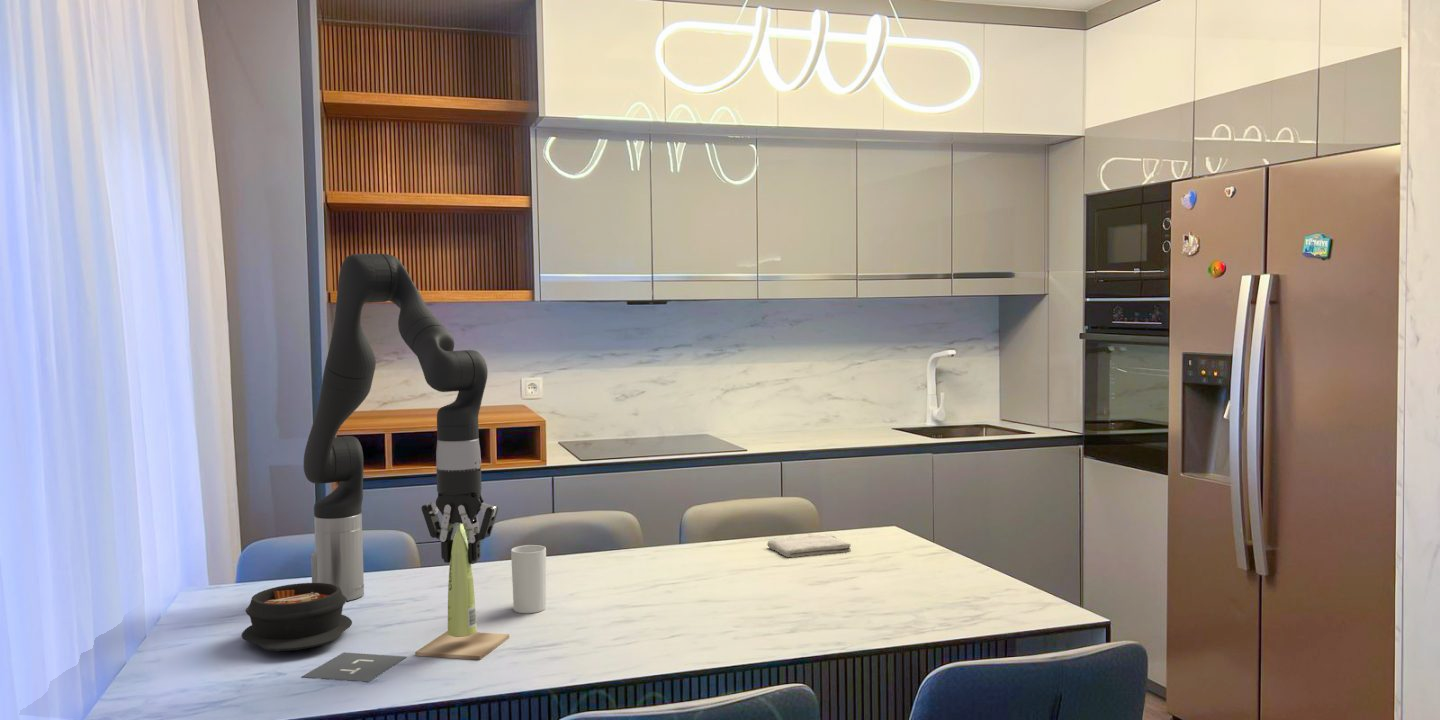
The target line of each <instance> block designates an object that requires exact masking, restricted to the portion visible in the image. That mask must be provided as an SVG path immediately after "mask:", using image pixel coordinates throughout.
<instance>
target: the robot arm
mask: <svg viewBox="0 0 1440 720" xmlns="http://www.w3.org/2000/svg"><path fill="white" fill-rule="evenodd" d="M337 281H338V282H337V293H336V300H335V301H336V303H335V312H334V322H333V327H332V333H331V338H330V342H329V347H328V351H327V356H326V359H325V360H326V361H325V365H324V369H323V374H322V375H323V376H322V382H321V388H320V394H319V397H318V398H319V399H318V404H317V408H316V412H315V416H314V420H313V422H312V426H311V429H310V432H309V435H308V438H307V442H306V445H305V449H304V453H303V473H304V475H305V478H306V479H307V480H308V481H309V482H310V483H312V484H316V485H317V484H321V485H323V484H331V483H338V485H337V487H336V488H335V489H334V490H333V491H332V492H330V493H329V494H327V495H326V496H324V497H322V498H320V499H319V500H317V501H315V503H314V505H313V515H314V519H313V520H314V521H313V522H314V546H315V547H314V548H315V549H314V552H311V555H310V558H311V559H310V561H311V562H310V563H311V564H310V565H311V583H326V584H332V585H336V586H338V587H339V588H340V589H341V591H342V594H343V595H344V596H345V597H346V598H347V601H352V600H357V599H359V598H361V597H362V596H364V594H365V584H364V580H365V579H364V550H363V549H364V547H363V545H364V544H363V517H362V511H363V510H362V504H363V497H364V491H363V490H364V452H363V447H362V445H361V442H360V441H359V439H358V438H357V437H355V436H353V435H352V436H351V435H344V436H336V435H337V433H338V431H339V430H340V428H341V427H342V425H343V424H344V423H345V422H346V420H347V419H348V418H349V417H350V416H351V415H352V414H353V413H354V412H355V411H356V410H357V409H358V408H359V407H360V406H361V404H362V403H363V402H364V401H365V400H366V398H367V397H368V395H369V393H370V392H371V389H372V384H373V380H374V375H375V370H376V366H377V364H376V363H377V360H376V356H375V353H374V350H373V348H372V346H371V344H370V342H369V340H368V339H367V337H366V335H365V332H364V331H363V328H362V325H361V323H362V321H361V319H362V318H361V317H362V316H361V315H362V310H363V307H364V304H365V303H366V304H370V303H386V302H391V303H393V304H394V305H396V307H398V308H399V314H398V320H397V325H398V331H399V334H400V336H401V339H402V340H403V342H404V343H405V344H406V346H408V348H409V349H410V350H411V351H412V352H413V353H414V355H415V356H416V357H417V359H418V362H419V365H420V367H421V368H420V369H421V370H422V373H423V376H424V379H425V382H426V383H427V385H428V386H429V387H430V388H431V389H433V390H435V391H437V392H441V393H448V392H458V393H457V396H456V397H455V399H454V401H453V402H451V403H449V404H446V405H444V406H441V407H440V408H439V409H438V410H437V413H436V431H437V432H436V434H437V435H436V436H437V438H436V439H437V441H436V451H435V455H436V457H435V460H436V461H435V463H436V465H435V466H436V492H437V498H436V500H435V502H429V503H426V504H424V505H422V506H421V512H422V515H423V518H424V521H425V524H426V526H427V529H428V532H429V535H430V537H431V538H433V539H434V538H436V539H438V540H439V541H440V551H441V552H440V553H441V556H440V557H441V559H442V560H443V562H444V563H445V564H446V563H447V564H450V559H451V552H452V544H453V539H452V538H453V536H454V529H455V527H457V523H458V524H459V523H461V524H463V526H464V529H465V532H466V536H467V540H468V541H469V542H468V562H469V564H471V565H474V564H476V563H478V560H479V559H480V557H481V541H483V540H485V539H486V538H488V537H489V538H490V537H491V535H492V531H493V528H494V524H495V520H496V517H497V514H498V510H499V506H498V505H497V504H489V503H486V502H485V501H484V499H483V496H482V458H481V454H482V453H481V445H480V437H479V436H480V435H479V433H480V432H479V429H480V427H479V414H480V409H481V406H482V401H483V396H484V393H485V389H486V385H487V381H488V365H487V362H486V360H485V359H486V358H485V357H484V356H483V355H482V354H481V353H480V352H479V351H477V350H473V349H472V350H471V349H467V350H466V349H465V350H454V348H455V341H454V337H453V336H452V334H451V333H450V332H449V331H448V329H447V328H446V327H445V326H444V325H443V324H442V322H441V321H439V319H438V318H437V317H436V316H435V315H434V314H433V312H432V311H431V310H430V309H429V307H428V305H427V304H426V302H425V301H424V299H423V297H422V295H421V293H420V292H419V290H418V288H417V286H416V285H415V283H414V281H413V280H412V277H411V276H410V274H409V272H408V271H407V269H406V267H405V266H404V264H403V263H402V262H401V260H400V259H398V258H397V257H396V256H394V255H392V254H388V253H355V254H354V253H353V254H350V255H347V256H346V257H345V258H344V260H343V262H342V264H341V266H340V271H339V275H338V280H337ZM480 511H481V516H482V517H483V519H482V520H481V521H482V522H481V526H480V522H479V517H478V514H479V513H480ZM439 512H440V513H441V515H442V521H440V518H439V514H438V513H439ZM347 601H346V602H347Z"/></svg>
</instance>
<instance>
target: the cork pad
mask: <svg viewBox="0 0 1440 720" xmlns="http://www.w3.org/2000/svg"><path fill="white" fill-rule="evenodd" d="M509 637H511V636H510V634H509V633H494V632H492V633H491V632H477V631H476V632H475V633H474V634H472V635H469V636H464V637H453V636H450V635H449V634H448V630H447V631H445V632H443V634H442V633H441V635H439V636H438V637H436V638H435V639H432V641H430V642H428V643H427V644H426V645H424V646H422V647H421V648H419V649H418V650H416V651H414V656H416V657H417V656H419V657H435V658H447V659H448V658H449V659H464V660H465V659H466V660H477V661H478V660H479V661H480V660H481V659H482V660H483V658H484V657H486V656H487V655H489V654H490V653H491V652H493V651H494V650H495V649H497V647H499V646H500V645H502V644H503V643H504V642H505V640H506V641H507V640H508V639H510V638H509ZM493 649H494V650H493Z"/></svg>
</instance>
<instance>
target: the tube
mask: <svg viewBox="0 0 1440 720" xmlns="http://www.w3.org/2000/svg"><path fill="white" fill-rule="evenodd" d="M453 536H454V537H453V539H452V540H453V544H452V552H451V559H450V563H449V569H448V571H449V572H448V587H447V588H448V591H447V631H448V634H449V635H450V636H453V637H464V636H469V635H472V634H474V633H475V632H477V614H476V613H477V611H476V597H475V596H476V595H475V585H474V575H473V574H474V573H473V568H472V567H473V566H472V564H469V562H468V543H469V542H468V541H469V540H468V536H467V532H466V531H465V529H464V526H463V524H461V523H458V525H456V531H455V534H454V535H453Z"/></svg>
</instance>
